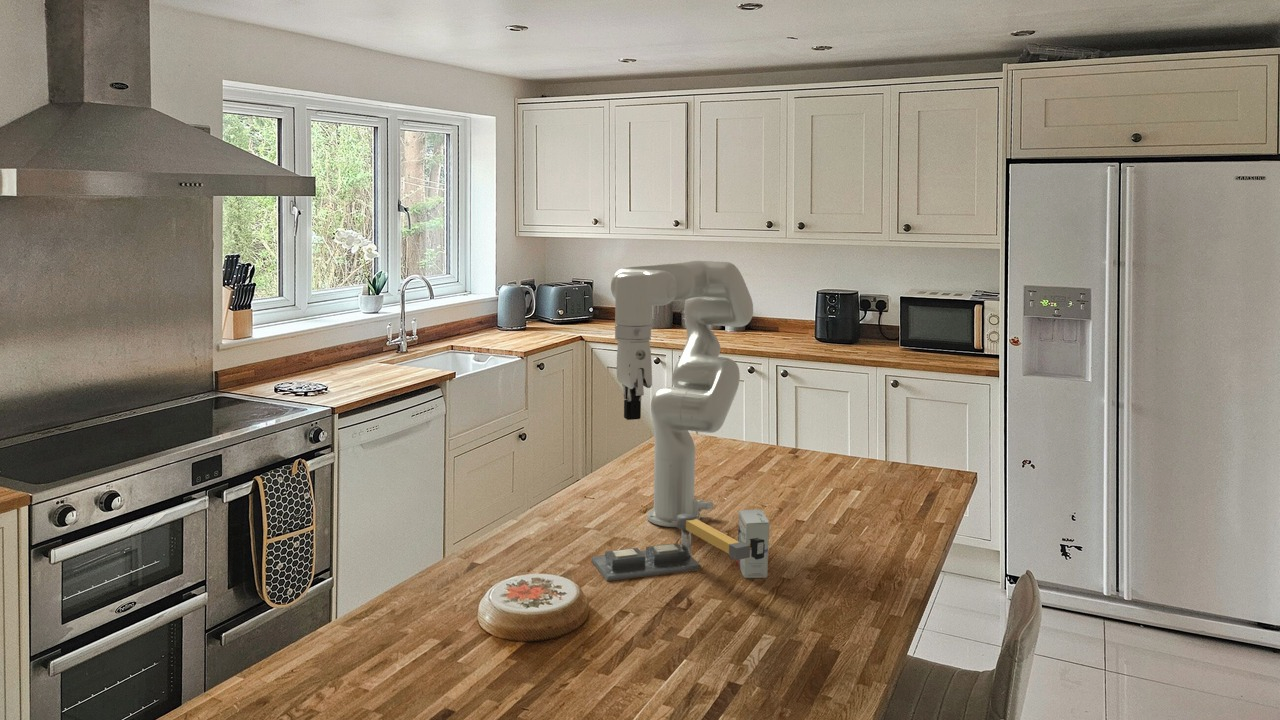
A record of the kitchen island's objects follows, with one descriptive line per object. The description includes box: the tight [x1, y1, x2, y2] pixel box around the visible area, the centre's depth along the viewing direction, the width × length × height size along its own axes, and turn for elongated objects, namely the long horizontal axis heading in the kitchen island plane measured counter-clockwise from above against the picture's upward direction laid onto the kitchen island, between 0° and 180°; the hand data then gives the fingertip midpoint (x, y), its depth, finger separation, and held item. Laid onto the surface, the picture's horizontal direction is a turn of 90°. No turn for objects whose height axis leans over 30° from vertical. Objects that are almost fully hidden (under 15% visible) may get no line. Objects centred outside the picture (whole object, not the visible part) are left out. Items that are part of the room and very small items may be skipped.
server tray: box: [591, 529, 701, 582], centre depth 201 cm, size 20×11×7 cm, turn 109°
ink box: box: [736, 508, 770, 579], centre depth 199 cm, size 9×5×12 cm, turn 5°
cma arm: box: [676, 514, 750, 561], centre depth 195 cm, size 22×4×2 cm, turn 30°
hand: (632, 418), depth 205 cm, fingers closed
